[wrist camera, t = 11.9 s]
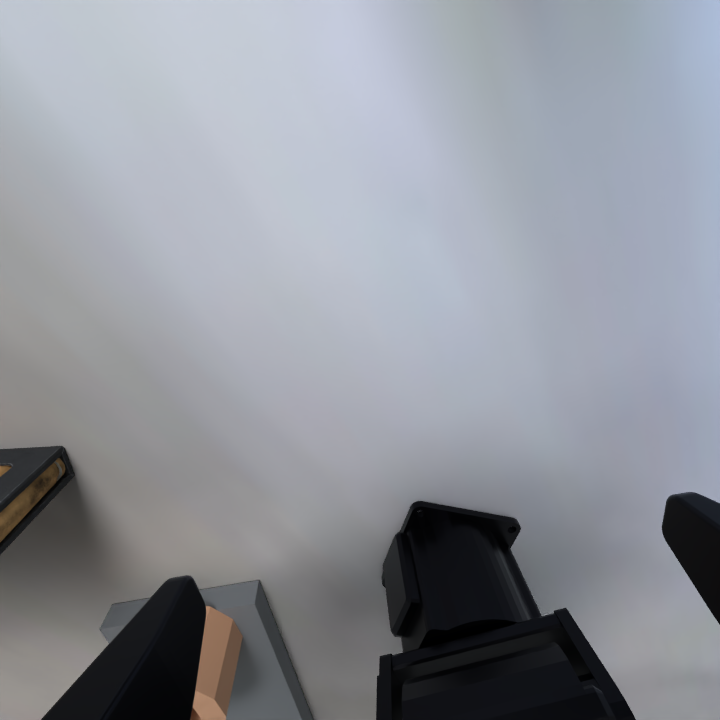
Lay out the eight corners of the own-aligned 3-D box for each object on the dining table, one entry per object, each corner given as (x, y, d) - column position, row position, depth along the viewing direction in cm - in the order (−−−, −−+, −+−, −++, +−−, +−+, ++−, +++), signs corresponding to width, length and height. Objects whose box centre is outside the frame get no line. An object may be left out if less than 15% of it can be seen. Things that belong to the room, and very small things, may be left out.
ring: (249, 612, 24) (233, 691, 20) (231, 674, 26) (214, 756, 22) (139, 596, 23) (102, 677, 19) (131, 663, 25) (96, 746, 21)
